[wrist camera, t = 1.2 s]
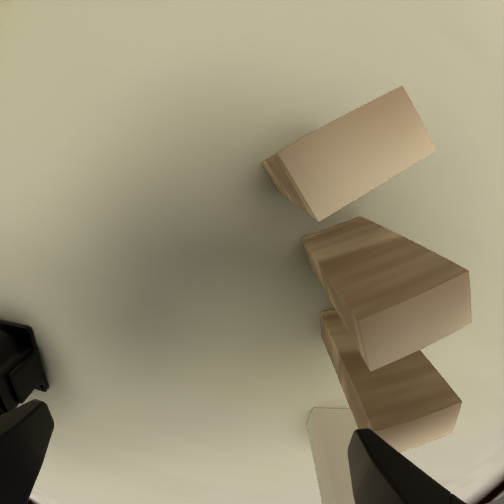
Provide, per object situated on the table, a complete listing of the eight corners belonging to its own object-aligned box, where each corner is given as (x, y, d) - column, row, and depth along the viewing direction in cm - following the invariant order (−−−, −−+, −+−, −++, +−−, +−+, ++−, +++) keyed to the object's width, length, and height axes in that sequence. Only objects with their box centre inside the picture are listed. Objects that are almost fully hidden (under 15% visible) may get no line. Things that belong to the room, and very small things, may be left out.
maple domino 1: (336, 157, 18) (435, 150, 7) (278, 191, 19) (318, 222, 8) (318, 129, 18) (402, 85, 7) (260, 162, 18) (277, 152, 8)
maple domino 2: (369, 246, 20) (471, 322, 9) (310, 268, 20) (370, 371, 9) (360, 216, 19) (468, 270, 8) (300, 238, 19) (358, 320, 9)
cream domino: (351, 425, 23) (386, 529, 13) (306, 424, 23) (328, 537, 13) (359, 408, 23) (401, 515, 12) (313, 407, 23) (340, 524, 12)
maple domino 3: (376, 326, 21) (452, 432, 10) (322, 337, 21) (370, 461, 10) (376, 300, 20) (462, 401, 10) (319, 311, 21) (374, 431, 10)
